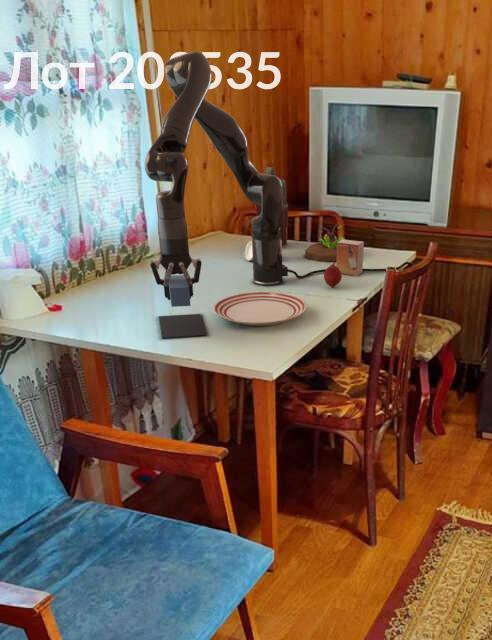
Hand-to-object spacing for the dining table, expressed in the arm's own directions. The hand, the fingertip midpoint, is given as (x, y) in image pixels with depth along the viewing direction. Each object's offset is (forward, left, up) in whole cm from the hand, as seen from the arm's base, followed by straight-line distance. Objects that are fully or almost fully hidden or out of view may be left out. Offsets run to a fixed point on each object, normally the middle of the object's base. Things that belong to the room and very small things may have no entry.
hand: (179, 298), depth 204 cm
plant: (-61, -70, -8) cm, 93 cm away
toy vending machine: (-42, -88, -8) cm, 98 cm away
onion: (-51, -30, -8) cm, 60 cm away
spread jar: (-34, -68, -8) cm, 76 cm away
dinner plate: (-23, -6, -8) cm, 25 cm away
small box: (-61, -46, -8) cm, 77 cm away
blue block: (0, +7, +3) cm, 8 cm away
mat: (0, -1, -8) cm, 8 cm away
